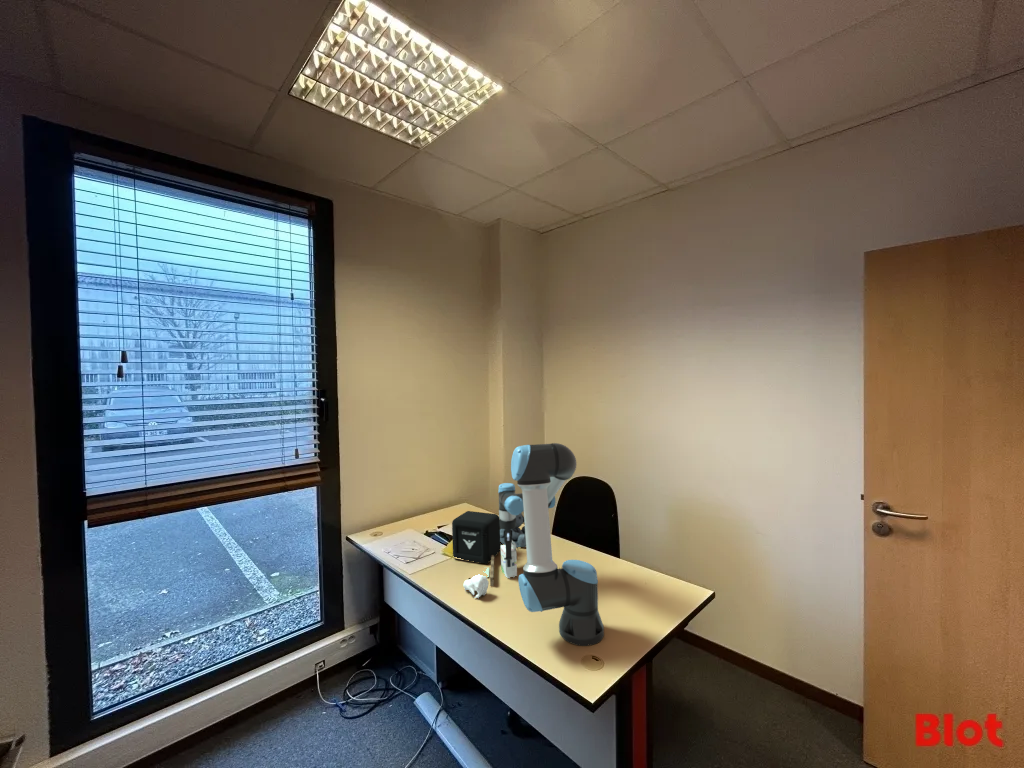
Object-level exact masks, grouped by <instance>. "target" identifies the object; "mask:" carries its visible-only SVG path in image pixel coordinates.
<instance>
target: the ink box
mask: <svg viewBox="0 0 1024 768" xmlns="http://www.w3.org/2000/svg"><path fill="white" fill-rule="evenodd" d="M512 543H513V544H514V545H513V544H512ZM512 543H511V556H512V574H506V560H504V558H506V545H502V544H500V567H501V570H502V571H501V570H500V571H501V572H502V573H504V574H505V575H504V574H503V575H504V577H507V578H509V579H511V578H510V577H513V578H516V577H515V576H517V577H518V568H517V567H518V563H517V562H518V561H517V547H516V543H515V542H514V541H513V540H512ZM507 578H506V579H507Z"/></svg>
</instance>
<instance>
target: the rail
mask: <svg viewBox="0 0 1024 768" xmlns="http://www.w3.org/2000/svg"><path fill="white" fill-rule="evenodd" d="M494 571H495V557H494V555H491V561H490V570H489V584H490V585H489V586H493V587H494V580H493V578H494V577H495V572H494Z"/></svg>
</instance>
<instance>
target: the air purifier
mask: <svg viewBox="0 0 1024 768" xmlns="http://www.w3.org/2000/svg"><path fill="white" fill-rule="evenodd" d="M499 519H500V518H499V514H497V513H488V512H479V511H471V510H467V511H465V512H464V513H462V514H460V515H459V516H457V517H456V518H454V519H453V520H452V521H451V533H452V536H451V537H452V557H453V556H454V557H457V558H461V559H464V560H469V561H468V562H470V561H474V562H473V563H476V562H479V563H478V564H481V563H485V564H484V565H487V563H488V564H489V563H491V555H494V558H495V557H496V556H498V554H499V553H501V543H500V529H501V528H500V527H499ZM454 557H453V558H454ZM464 560H463V561H464Z"/></svg>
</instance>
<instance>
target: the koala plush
mask: <svg viewBox="0 0 1024 768" xmlns="http://www.w3.org/2000/svg"><path fill="white" fill-rule="evenodd" d="M515 519H516V527H515V528H514V529H511V530H512V540H513V541H514V542H515V543H516V548H518V547H524V548H526V537H525V525H523V523H524V514H523V512H522V513H521V514H519V515H516V517H515ZM524 524H525V523H524ZM522 525H523V526H522ZM521 526H522V527H521ZM520 527H521V528H520ZM504 530H505V529H501V528H500V542H501V543H502V544H504V545H505V542H504ZM501 543H500V544H501ZM502 544H501V545H502ZM512 544H513V543H512ZM513 545H514V544H513Z"/></svg>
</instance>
